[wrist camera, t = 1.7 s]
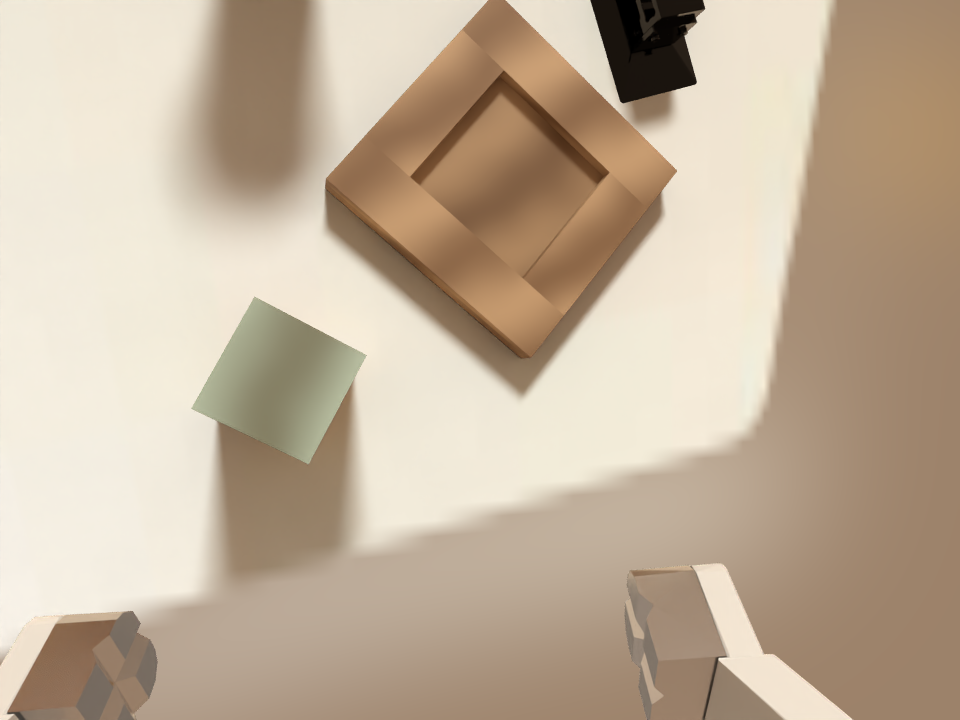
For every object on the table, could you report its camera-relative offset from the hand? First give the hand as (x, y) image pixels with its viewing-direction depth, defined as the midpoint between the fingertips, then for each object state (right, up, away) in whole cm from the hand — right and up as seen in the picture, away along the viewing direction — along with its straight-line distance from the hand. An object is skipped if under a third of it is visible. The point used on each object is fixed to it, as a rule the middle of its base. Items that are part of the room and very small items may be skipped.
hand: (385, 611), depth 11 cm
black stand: (+11, +25, +30) cm, 40 cm away
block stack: (-8, +3, +24) cm, 25 cm away
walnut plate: (+3, +14, +27) cm, 30 cm away
